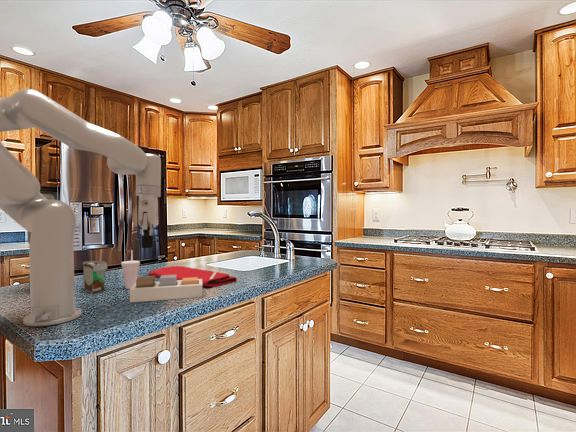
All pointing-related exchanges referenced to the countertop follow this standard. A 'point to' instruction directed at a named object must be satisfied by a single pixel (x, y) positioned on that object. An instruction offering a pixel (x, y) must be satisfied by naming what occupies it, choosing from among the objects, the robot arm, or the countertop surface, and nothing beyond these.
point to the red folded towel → (195, 275)
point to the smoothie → (130, 271)
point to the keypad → (166, 292)
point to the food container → (94, 276)
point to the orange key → (190, 281)
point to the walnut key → (145, 281)
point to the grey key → (168, 280)
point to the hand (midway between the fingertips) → (147, 247)
